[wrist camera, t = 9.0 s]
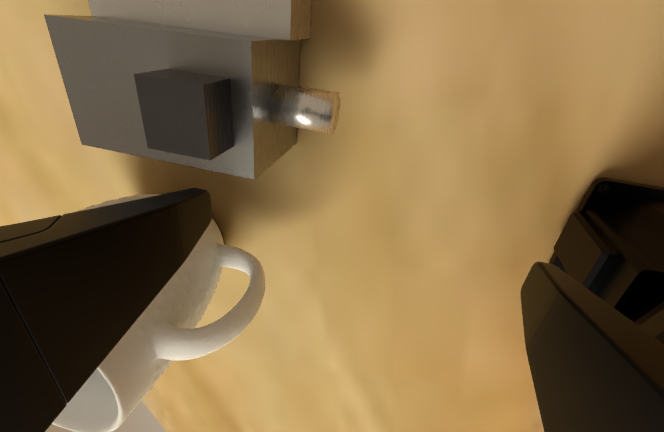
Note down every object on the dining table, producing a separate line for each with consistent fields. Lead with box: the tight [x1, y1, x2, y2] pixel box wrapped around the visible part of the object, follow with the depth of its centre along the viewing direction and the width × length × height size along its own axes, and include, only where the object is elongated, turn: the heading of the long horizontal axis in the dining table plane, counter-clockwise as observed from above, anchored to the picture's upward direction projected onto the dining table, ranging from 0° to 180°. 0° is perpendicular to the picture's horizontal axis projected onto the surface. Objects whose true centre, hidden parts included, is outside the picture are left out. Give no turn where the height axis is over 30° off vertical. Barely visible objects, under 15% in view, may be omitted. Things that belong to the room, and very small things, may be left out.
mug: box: [52, 194, 265, 432], centre depth 22 cm, size 15×11×13 cm
